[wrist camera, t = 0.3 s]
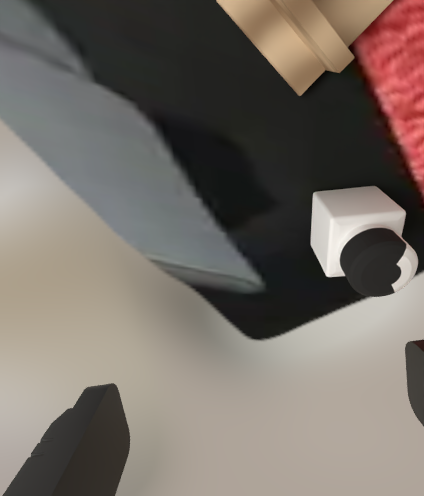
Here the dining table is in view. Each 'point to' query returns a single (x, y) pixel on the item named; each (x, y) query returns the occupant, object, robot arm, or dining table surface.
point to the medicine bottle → (362, 239)
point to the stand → (304, 33)
